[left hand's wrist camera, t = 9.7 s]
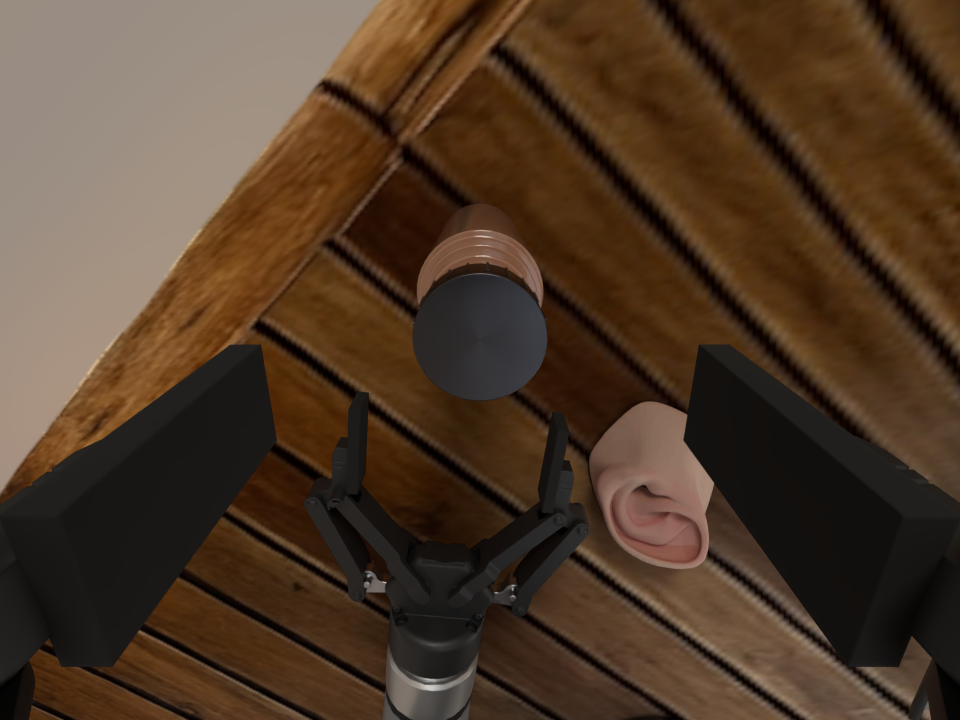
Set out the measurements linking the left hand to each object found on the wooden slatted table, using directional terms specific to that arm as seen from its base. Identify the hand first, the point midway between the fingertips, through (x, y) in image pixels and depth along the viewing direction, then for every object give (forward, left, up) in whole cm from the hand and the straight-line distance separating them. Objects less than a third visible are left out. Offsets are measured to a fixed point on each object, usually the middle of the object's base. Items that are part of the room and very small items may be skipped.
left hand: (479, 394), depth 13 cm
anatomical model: (-24, +5, -25) cm, 35 cm away
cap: (0, 0, -5) cm, 5 cm away
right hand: (-5, +8, -19) cm, 21 cm away
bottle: (0, 0, -25) cm, 25 cm away
